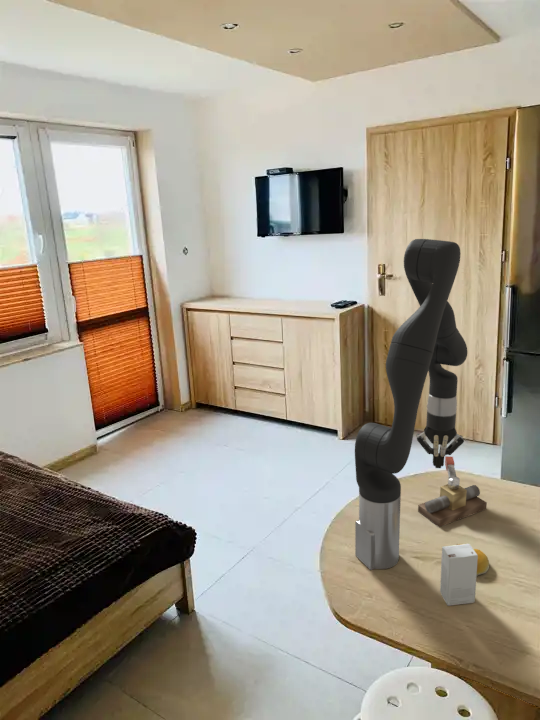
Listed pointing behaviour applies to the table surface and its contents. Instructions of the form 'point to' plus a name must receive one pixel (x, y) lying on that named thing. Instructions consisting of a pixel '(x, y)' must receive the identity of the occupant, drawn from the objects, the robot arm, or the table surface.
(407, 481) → the table surface
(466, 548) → the skincare box
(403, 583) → the table surface
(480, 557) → the bread roll
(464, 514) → the valve board
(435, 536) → the table surface
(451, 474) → the valve lever
